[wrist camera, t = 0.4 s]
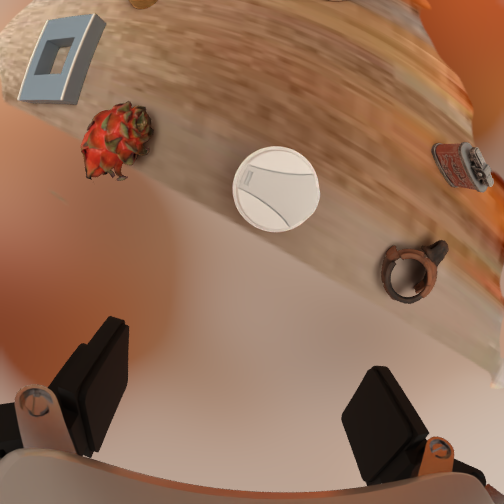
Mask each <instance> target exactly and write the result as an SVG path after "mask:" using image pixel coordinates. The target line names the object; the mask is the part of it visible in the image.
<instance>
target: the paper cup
mask: <svg viewBox="0 0 504 504" xmlns="http://www.w3.org/2000/svg"><path fill="white" fill-rule="evenodd" d="M233 197H234V201H235V204H236V207H237V209H238V211H239V212H240V214H241V215H242V216H243V218H244V219H245V220H246V221H247V222H248V223H250V224H251V225H253V226H254V227H256V228H258V229H261V230H264V231H269V232H283V231H288V230H291V229H293V228H295V227H297V226H299V225H300V224H302V223H303V222H304V221H305V220H306V219H307V218H308V217H310V216H311V215H312V214H313V213H314V211H315V209H316V208H317V205H318V202H319V198H320V190H319V183H318V178H317V175H316V172H315V170H314V168H313V167H312V165H311V164H310V162H309V161H308V160H307V159H306V158H305V157H304V156H302V155H301V154H300V153H298V152H296V151H294V150H292V149H289V148H286V147H280V146H272V147H266V148H262V149H259V150H257V151H255V152H253V153H252V154H251V155H249V156H248V157H247V158H246V159H245V160H244V161H243V162H242V163H241V165H240V166H239V168H238V170H237V172H236V174H235V177H234V181H233Z"/></svg>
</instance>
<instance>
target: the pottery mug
mask: <svg viewBox="0 0 504 504" xmlns="http://www.w3.org/2000/svg"><path fill="white" fill-rule="evenodd" d="M421 249H422V250H423V252H422V251H418V250H414V249H402V250H399V251H397V249H396V246H392V247H391V248H390V249H389V250H388V251H387V253H386V257H385V258H384V260H383V265H382V272H381V277H382V282H383V283H384V288H385V290H386V292H387V293H388V294H389V296H390V297H391V298H392V299H393V300H397V301H399V302H402V303H408V304H411V303H414V302H416V301H418V300H420V299H421V298H424V297H426V296H427V295H428V294H429V293H430V292H431V290H432V289H433V287H434V285H435V282H436V278H437V266H438V265H439V263H440V262H441V261H442V260H443V259H444V257H445V255H446V254H447V252H448V250H449V249H448V244H447V243H446V242H445V241H443V240H439V241H437V242H435V243H434V244H432V245H430V246H421ZM424 253H425V254H426V256H427V257H428V258H426V257H425V256H424ZM399 258H402V259H403V260H404V259H415V260H418V261H419V262H420V263H422V264H423V265H424V267H425V269H426V273H425V276H424V278H423V279H422V281H421V282H420V283H419V284H417V285H416V286H414V289H415V292H416V293H419V292H420V291H421V292H420V293H419V294H417V295H415V296H413V297H403V296H400V295H399V294H397V293H396V292H395V291H394V289H393V288H392V285H391V280H390V279H391V272H392V270H393V268H394V266H395V265H396V263H395V261H396V260H397V259H399Z"/></svg>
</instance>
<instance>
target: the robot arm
mask: <svg viewBox="0 0 504 504" xmlns="http://www.w3.org/2000/svg"><path fill="white" fill-rule="evenodd" d="M331 1H344V0H331ZM128 344H129V326H128V325H125V321H124V320H121V319H118V318H115V317H112V316H109V317H108V318H107V320H106V321H105V322H104V323H103V325H102V326H101V327H100V329H99V330H98V331H97V332H96V334H95V335H94V336H93V338H92V339H91V340H90V342H89V343H88V344H84V343H83V344H80V345H79V346H78V348H77V349H76V350H75V352H74V353H73V354H72V355H71V357H70V358H69V359H68V361H67V362H66V363H65V365H64V366H63V367H62V369H61V370H60V371H59V373H58V374H57V375H56V377H55V378H54V380H53V381H52V383H51V384H50V385H49V387H48V388H47V387H45V386H41V385H28V386H25V387H23V388H22V389H20V390H19V391H18V392H17V394H16V397H15V402H14V403H7V404H0V504H504V495H503V494H501V493H500V492H499V491H497V490H496V489H495V488H493V487H492V486H490V485H489V484H487V485H486V479H485V476H484V474H483V473H482V472H481V471H480V470H478V469H476V468H474V467H472V466H469V465H467V464H465V463H463V462H460V461H458V460H456V459H454V449H453V447H452V445H451V444H450V443H449V442H448V441H447V440H445V439H444V438H441V437H431V438H430V439H428V440H426V437H427V435H428V434H429V432H428V430H427V428H426V427H425V425H424V424H423V422H422V420H421V418H420V417H419V415H418V414H417V412H416V410H415V409H414V407H413V406H412V404H411V403H410V401H409V399H408V398H407V396H406V395H405V393H404V391H403V390H402V388H401V387H400V386H399V384H398V382H397V381H396V379H395V378H394V376H393V374H392V373H391V371H390V370H389V368H387V367H385V366H373V367H372V368H371V369H369V370H368V371H367V373H366V375H365V376H364V378H363V380H362V382H361V383H360V385H359V387H358V389H357V391H356V392H355V394H354V395H353V397H352V399H351V401H350V402H349V404H348V406H347V407H346V408H345V410H344V412H343V413H342V418H341V420H342V423H343V426H344V429H345V431H346V434H347V437H348V440H349V442H350V445H351V448H352V451H353V454H354V457H355V459H356V462H357V465H358V468H359V471H360V474H361V477H362V479H363V480H364V481H365V482H366V484H367V486H366V487H358V488H351V489H342V490H331V491H318V492H317V491H316V492H255V491H241V490H230V489H220V488H212V487H205V486H199V485H193V484H187V483H182V482H177V481H171V480H167V479H163V478H158V477H153V476H149V475H145V474H142V473H138V472H134V471H130V470H127V469H124V468H120V467H117V466H114V465H110V464H106V463H103V462H100V461H97V460H94V459H90V458H91V457H92V454H93V452H94V451H95V452H99V450H100V447H101V445H102V443H103V440H104V438H105V435H106V433H107V430H108V428H109V426H110V423H111V421H112V419H113V416H114V414H115V412H116V409H117V407H118V405H119V402H120V400H121V398H122V395H123V393H124V391H125V389H126V386H127V382H128ZM83 455H85V456H87V457H89V458H86V457H83ZM381 483H382V484H381Z"/></svg>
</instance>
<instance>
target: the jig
mask: <svg viewBox="0 0 504 504" xmlns="http://www.w3.org/2000/svg"><path fill="white" fill-rule="evenodd" d="M105 25H106V23H105V22H104V21H103V20H102V19H101V18H100V17H99V16H98V15H97V14H96V13H93V14H89V15H80V16H72V17H65V18H59V19H53V20H47V21H46V23H45V25H44V28H43V30H42V32H41V34H40V36H39V39H38V41H37V44H36V46H35V48H34V51H33V54H32V56H31V59H30V61H29V64H28V67H27V70H26V73H25V76H24V79H23V82H22V85H21V89H20V92H19V95H18V99H17V100H20V101H24V102H29V103H53V104H77V102H78V99H79V95H80V92H81V89H82V85H83V82H84V79H85V76H86V73H87V70H88V68H89V65H90V62H91V59H92V57H93V54H94V52H95V49H96V46H97V44H98V42H99V39H100V37H101V35H102V32H103V30H104V28H105ZM69 46H71V48H70V51H69V53H68V56H67V58H66V61H65V64H64V67H63V70H62V72H61V74H50V71H51V68H52V66H53V63H54V60H55V57H56V55H57V52H58V50H59V47H69Z"/></svg>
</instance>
